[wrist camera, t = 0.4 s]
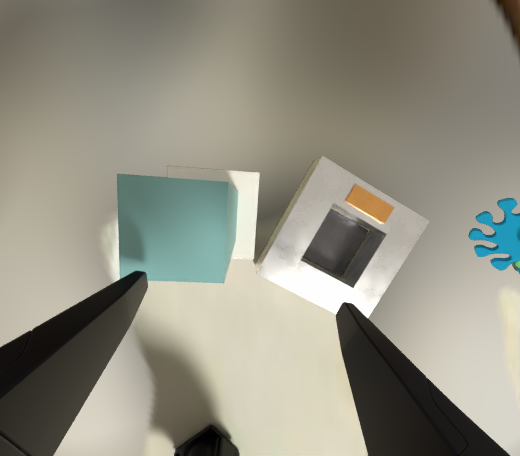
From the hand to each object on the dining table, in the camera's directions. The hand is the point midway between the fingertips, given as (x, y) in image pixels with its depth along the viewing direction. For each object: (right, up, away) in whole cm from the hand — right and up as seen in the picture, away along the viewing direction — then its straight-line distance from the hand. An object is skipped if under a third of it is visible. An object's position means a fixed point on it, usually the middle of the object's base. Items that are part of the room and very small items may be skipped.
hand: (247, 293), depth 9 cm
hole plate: (+9, +1, +16) cm, 18 cm away
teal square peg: (-4, +4, +11) cm, 13 cm away
